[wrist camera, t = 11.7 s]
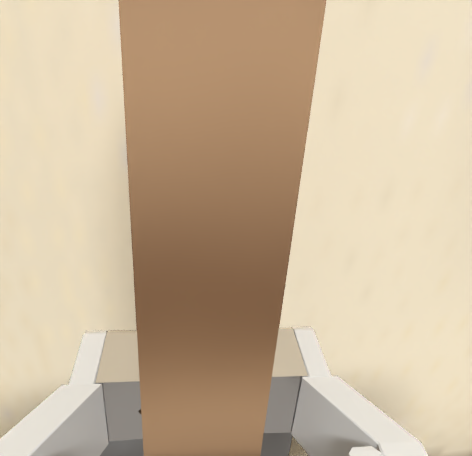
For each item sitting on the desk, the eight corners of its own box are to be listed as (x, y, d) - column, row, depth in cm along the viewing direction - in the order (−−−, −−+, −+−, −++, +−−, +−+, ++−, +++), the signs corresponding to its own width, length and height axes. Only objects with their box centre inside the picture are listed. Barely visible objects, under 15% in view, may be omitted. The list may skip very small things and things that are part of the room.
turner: (23, -220, 7) (-143, -432, 3) (388, -174, 8) (560, -313, 4) (115, 539, 17) (97, 678, 14) (265, 528, 18) (284, 658, 15)
